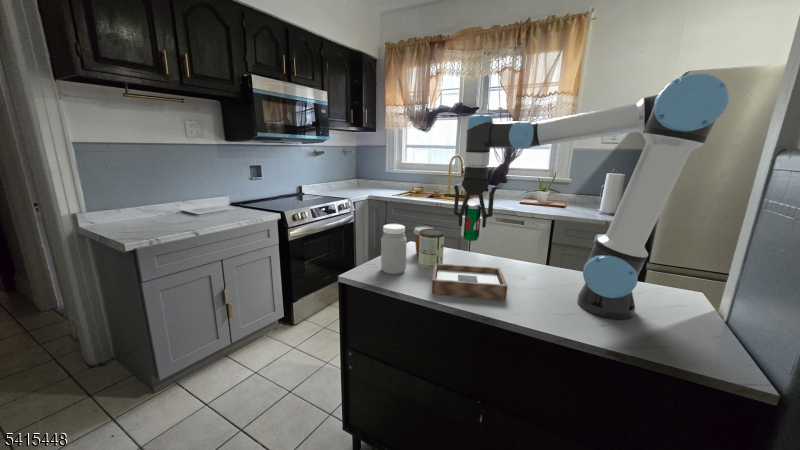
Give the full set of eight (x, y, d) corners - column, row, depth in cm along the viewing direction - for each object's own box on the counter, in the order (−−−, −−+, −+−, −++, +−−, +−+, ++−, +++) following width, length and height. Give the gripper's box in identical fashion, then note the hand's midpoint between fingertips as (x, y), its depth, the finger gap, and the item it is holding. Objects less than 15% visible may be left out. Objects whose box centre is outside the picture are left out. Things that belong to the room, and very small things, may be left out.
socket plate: (495, 281, 119) (496, 274, 118) (501, 298, 106) (502, 289, 105) (437, 277, 122) (437, 269, 121) (435, 292, 109) (436, 284, 108)
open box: (498, 280, 120) (500, 267, 119) (505, 300, 105) (507, 286, 103) (433, 275, 123) (434, 263, 122) (431, 294, 108) (432, 280, 107)
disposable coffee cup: (438, 255, 146) (439, 230, 143) (420, 259, 141) (421, 232, 138) (425, 249, 153) (427, 225, 151) (408, 252, 149) (409, 227, 146)
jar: (388, 264, 134) (389, 222, 129) (409, 268, 130) (411, 225, 125) (376, 272, 125) (376, 227, 121) (398, 277, 121) (399, 230, 117)
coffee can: (418, 259, 141) (419, 227, 137) (442, 260, 140) (444, 229, 136) (417, 268, 131) (418, 234, 127) (443, 269, 130) (445, 235, 126)
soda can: (475, 242, 106) (478, 206, 103) (460, 239, 109) (463, 204, 106) (480, 238, 111) (483, 204, 108) (466, 236, 113) (468, 202, 110)
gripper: (503, 166, 106) (496, 234, 112) (448, 164, 109) (444, 231, 114) (507, 167, 99) (500, 240, 104) (447, 166, 101) (443, 237, 107)
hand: (470, 235), depth 109 cm, fingers closed on soda can, 5 cm apart
